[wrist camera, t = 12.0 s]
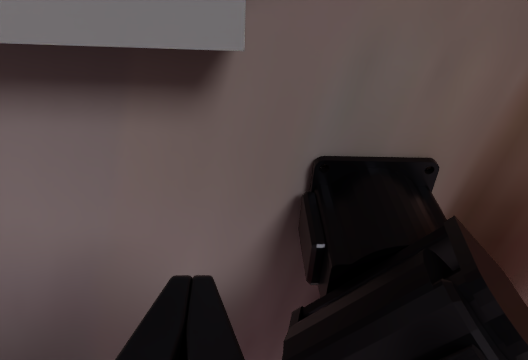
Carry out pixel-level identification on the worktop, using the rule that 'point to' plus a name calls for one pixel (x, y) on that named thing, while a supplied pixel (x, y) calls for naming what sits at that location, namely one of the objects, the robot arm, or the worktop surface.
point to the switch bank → (125, 23)
